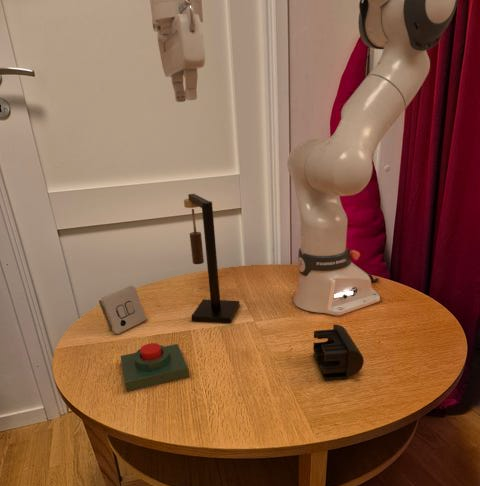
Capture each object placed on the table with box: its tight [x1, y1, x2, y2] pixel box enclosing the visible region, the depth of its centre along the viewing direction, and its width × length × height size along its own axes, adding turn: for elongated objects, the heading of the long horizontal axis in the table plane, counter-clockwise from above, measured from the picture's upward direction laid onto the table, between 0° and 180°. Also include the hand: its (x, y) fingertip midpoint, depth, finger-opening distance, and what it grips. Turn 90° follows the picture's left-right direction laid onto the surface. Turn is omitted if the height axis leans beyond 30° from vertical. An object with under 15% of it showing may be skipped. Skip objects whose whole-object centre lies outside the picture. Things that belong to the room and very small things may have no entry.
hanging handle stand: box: [183, 193, 241, 324], centre depth 101 cm, size 14×17×28 cm
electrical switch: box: [98, 285, 147, 335], centre depth 99 cm, size 9×5×9 cm, turn 141°
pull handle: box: [189, 208, 205, 265], centre depth 106 cm, size 3×3×14 cm
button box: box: [120, 343, 190, 392], centre depth 82 cm, size 12×10×4 cm
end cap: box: [312, 324, 364, 382], centre depth 79 cm, size 10×7×7 cm
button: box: [139, 342, 162, 360], centre depth 80 cm, size 4×4×2 cm
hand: (186, 101), depth 77 cm, fingers open, 8 cm apart
